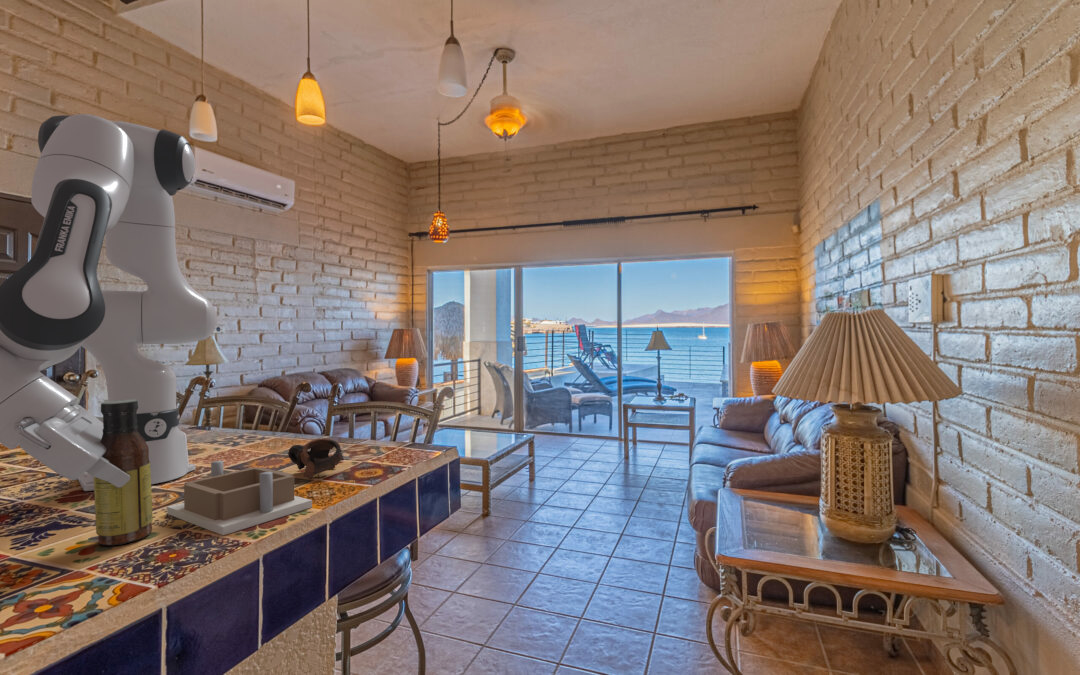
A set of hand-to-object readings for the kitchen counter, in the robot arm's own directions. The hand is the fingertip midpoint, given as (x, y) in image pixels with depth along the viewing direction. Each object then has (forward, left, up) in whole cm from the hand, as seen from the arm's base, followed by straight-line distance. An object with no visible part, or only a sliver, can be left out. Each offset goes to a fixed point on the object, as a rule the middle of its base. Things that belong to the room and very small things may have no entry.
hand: (129, 476), depth 71 cm
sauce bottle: (0, -1, -9) cm, 9 cm away
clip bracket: (+2, +14, -9) cm, 17 cm away
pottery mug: (-9, +35, -9) cm, 38 cm away
